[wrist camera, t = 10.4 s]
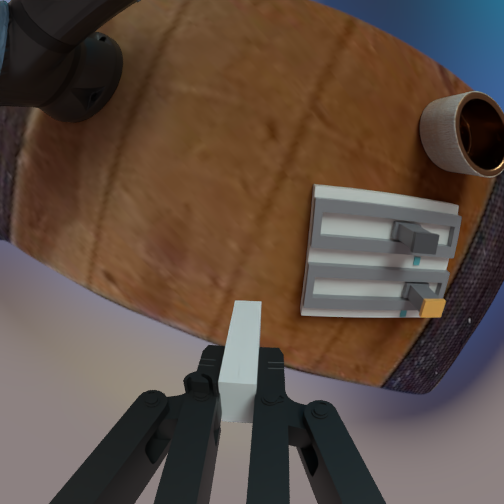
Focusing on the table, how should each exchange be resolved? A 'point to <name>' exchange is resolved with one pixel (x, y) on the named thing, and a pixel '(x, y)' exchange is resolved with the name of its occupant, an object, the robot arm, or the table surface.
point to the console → (372, 252)
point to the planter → (464, 134)
